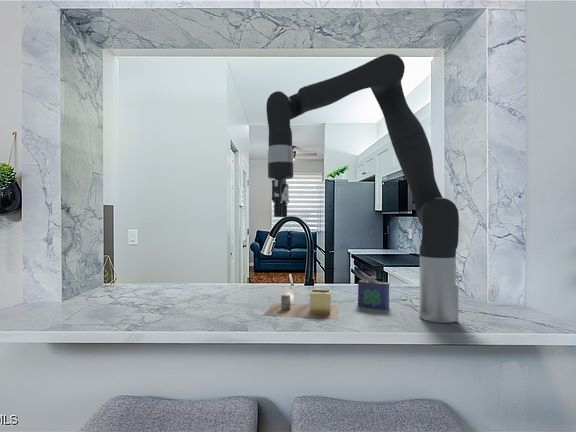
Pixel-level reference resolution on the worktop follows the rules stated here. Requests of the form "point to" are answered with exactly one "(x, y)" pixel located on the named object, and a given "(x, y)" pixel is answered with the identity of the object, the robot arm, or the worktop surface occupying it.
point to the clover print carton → (373, 294)
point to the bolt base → (298, 310)
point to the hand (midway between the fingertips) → (280, 217)
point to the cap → (320, 301)
